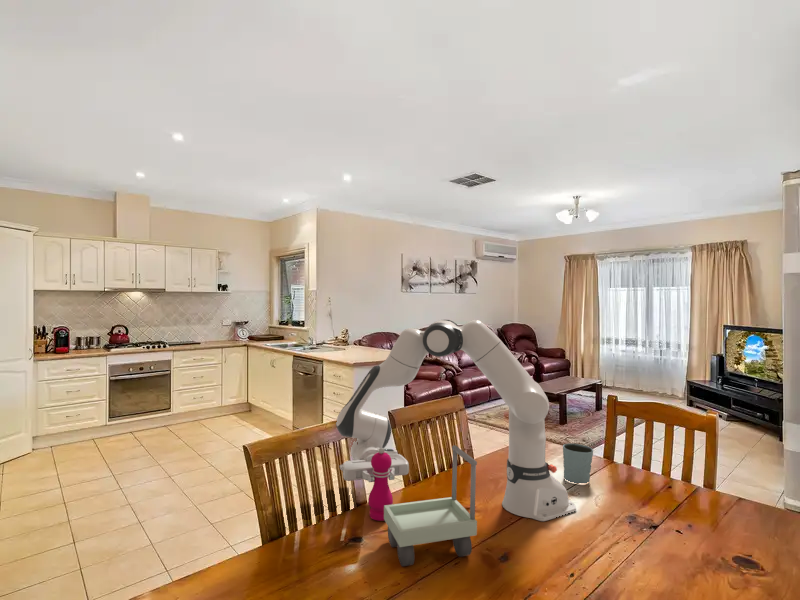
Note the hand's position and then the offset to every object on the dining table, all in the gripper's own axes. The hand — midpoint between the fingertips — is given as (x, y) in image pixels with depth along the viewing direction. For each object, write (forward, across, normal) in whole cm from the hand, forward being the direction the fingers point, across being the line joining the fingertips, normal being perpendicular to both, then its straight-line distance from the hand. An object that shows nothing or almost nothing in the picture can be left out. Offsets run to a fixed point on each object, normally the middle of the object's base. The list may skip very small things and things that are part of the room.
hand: (382, 478), depth 129 cm
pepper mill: (-1, 0, +12) cm, 12 cm away
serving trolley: (+19, +7, +12) cm, 23 cm away
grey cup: (-8, +75, +12) cm, 77 cm away
